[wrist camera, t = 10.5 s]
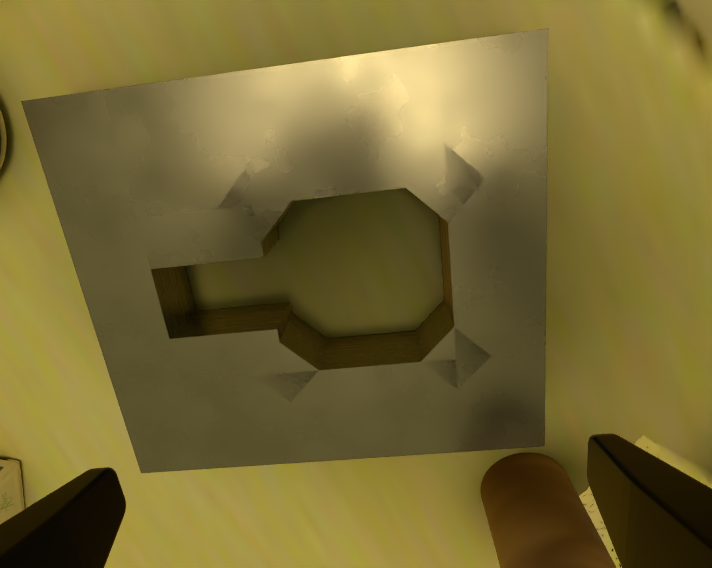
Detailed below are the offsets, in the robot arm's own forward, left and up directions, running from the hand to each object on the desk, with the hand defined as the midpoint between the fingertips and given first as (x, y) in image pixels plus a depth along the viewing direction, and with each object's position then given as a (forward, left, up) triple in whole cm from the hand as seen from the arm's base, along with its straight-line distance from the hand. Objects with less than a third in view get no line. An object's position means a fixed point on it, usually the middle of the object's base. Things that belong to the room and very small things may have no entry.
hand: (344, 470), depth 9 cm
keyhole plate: (+2, 0, -13) cm, 13 cm away
